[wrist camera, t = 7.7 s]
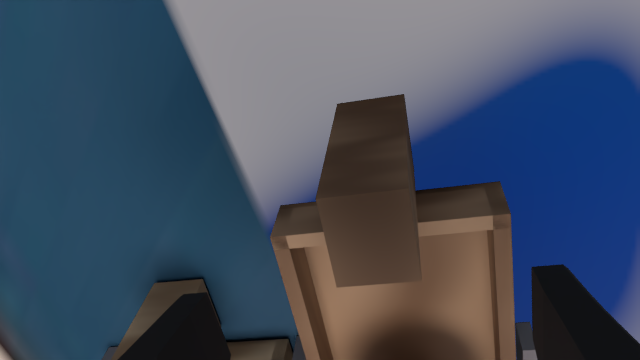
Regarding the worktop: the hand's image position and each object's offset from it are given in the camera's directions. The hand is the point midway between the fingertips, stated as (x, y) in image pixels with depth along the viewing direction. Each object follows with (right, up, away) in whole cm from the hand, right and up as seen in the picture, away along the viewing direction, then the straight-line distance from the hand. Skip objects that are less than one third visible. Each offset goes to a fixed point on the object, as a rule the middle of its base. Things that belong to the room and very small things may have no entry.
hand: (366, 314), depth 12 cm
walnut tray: (+3, -2, +12) cm, 12 cm away
